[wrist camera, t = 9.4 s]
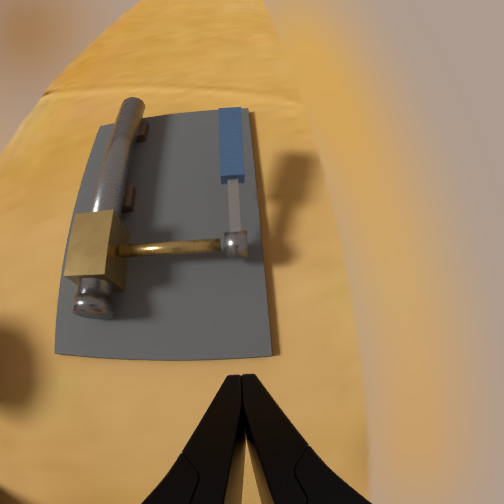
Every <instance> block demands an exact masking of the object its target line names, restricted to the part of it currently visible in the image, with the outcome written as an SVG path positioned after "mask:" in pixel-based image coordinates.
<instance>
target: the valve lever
mask: <svg viewBox="0 0 504 504" xmlns="http://www.w3.org/2000/svg"><path fill="white" fill-rule="evenodd" d="M218 112H219V153H220V177H221V183H222V184H228V204H229V224H230V231H226V232H224V242H225V256H226V259H236V258H248V241H247V230H244V231H241V221H240V203H239V185H238V184H239V183H244V182H245V168H244V152H243V135H242V118H241V107H233V108H218Z"/></svg>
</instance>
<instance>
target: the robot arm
mask: <svg viewBox="0 0 504 504" xmlns="http://www.w3.org/2000/svg"><path fill="white" fill-rule="evenodd" d="M245 430H246V431H245ZM246 439H247V444H248V449H249V453H250V458H251V462H252V466H253V470H254V474H255V478H256V483H257V487H258V491H259V495H260V499H261V502H262V504H372V503H370V502H369V501H368V500H366V499H365V498H364V497H363V496H361V495H360V494H359V493H358V492H356V491H355V490H354V489H353V488H352V487H350V486H349V485H348V484H347V483H346V482H344V481H343V480H342V479H341V478H340V477H339V476H338V475H336V474H335V473H334V472H333V471H332V470H331V469H330V468H329V467H328V466H327V465H326V464H325V463H324V462H323V461H322V460H321V458H320V457H319V456H318V455H317V454H316V453H315V451H314V450H313V449H312V448H311V447H310V446H308V443H307V442H306V441H305V439H304V438H303V437H302V435H301V434H300V433H299V432H298V430H297V429H296V428H295V427H294V425H293V424H292V423H291V421H290V420H289V419H288V418H287V416H286V415H285V414H284V412H283V411H282V410H281V408H280V407H279V406H278V404H277V403H276V402H275V400H274V399H273V398H272V396H271V395H270V394H269V392H268V391H267V390H266V388H265V387H264V386H263V384H262V383H261V381H260V380H259V379H258V377H257V376H256V375H255V374H243V375H242V376H241V375H228V376H227V377H226V379H225V380H224V382H223V384H222V386H221V387H220V389H219V391H218V392H217V394H216V396H215V398H214V399H213V401H212V403H211V404H210V406H209V408H208V409H207V411H206V413H205V414H204V416H203V418H202V419H201V421H200V423H199V424H198V426H197V428H196V429H195V431H194V433H193V434H192V436H191V438H190V439H189V441H188V442H187V444H186V446H185V447H184V449H183V451H182V453H181V454H180V455H179V457H178V458H177V460H176V462H175V463H174V465H173V466H172V467H171V469H170V470H169V472H168V473H167V475H166V476H165V477H164V478H163V480H162V481H161V482H160V483H159V484H158V486H157V487H156V488H155V489H154V490H153V491H152V492H151V494H150V495H149V496H148V497H147V498H146V499H145V500H144V501H143V502H142V503H141V504H241V502H242V489H243V475H244V462H245V448H246Z"/></svg>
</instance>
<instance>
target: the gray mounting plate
mask: <svg viewBox="0 0 504 504" xmlns="http://www.w3.org/2000/svg"><path fill="white" fill-rule="evenodd" d="M241 118H242V135H243V152H244V168H245V182H244V183H239V184H238V185H239V203H240V221H241V231H244V230H247V241H248V258H236V259H226V256H225V242H224V232H226V231H230V224H229V204H228V184H222V183H221V177H220V153H219V112H218V110H209V111H198V112H187V113H178V114H170V115H162V116H155V117H148V118H142V120H141V121H148V124H149V130H148V135H147V139H146V141H145V142H139V143H135V147H134V152H133V156H132V160H131V165H130V170H129V174H128V179H127V184H126V185H131V184H134V186H135V188H136V190H137V191H136V197H135V204H134V211H133V212H128V213H121V218H120V219H121V221H122V222H123V224H124V225H125V227H126V228H127V229H128V231H129V232H130V242H129V244H140V243H154V242H168V241H184V240H199V239H215V238H220V241H221V252H211V253H194V254H177V255H160V256H144V257H128V261H127V272H126V285H125V291H123V292H112V298H111V299H112V300H113V301H114V306H113V318H111V319H90V318H85V317H81V316H78V315H76V314H74V313H73V301H74V295H75V294H77V287H78V285H76V284H75V283H73V282H72V281H70V280H69V279H68V278H66V277H65V276H64V270H65V264H66V258H67V252H68V246H69V241H70V236H71V231H72V226H73V222H74V217H75V214H79V213H87V212H90V209H91V205H92V200H93V196H94V192H95V188H96V184H97V180H98V176H99V173H100V169H101V165H102V162H103V159H104V155H105V152H106V149H107V145H108V142H109V139H110V136H111V133H112V130H113V127H114V124H115V123H114V124H109V125H104V126H100V128H99V131H98V133H97V136H96V139H95V142H94V144H93V147H92V150H91V153H90V156H89V159H88V162H87V165H86V169H85V172H84V175H83V178H82V182H81V185H80V189H79V193H78V196H77V200H76V204H75V208H74V212H73V216H72V221H71V225H70V230H69V234H68V239H67V244H66V250H65V255H64V261H63V267H62V274H61V281H60V288H59V297H58V306H57V317H56V331H55V353H56V354H62V355H72V356H82V357H95V358H109V359H129V360H219V359H239V358H255V357H268V356H272V350H271V338H270V326H269V315H268V304H267V293H266V282H265V271H264V260H263V250H262V239H261V229H260V219H259V208H258V198H257V188H256V178H255V168H254V159H253V149H252V139H251V130H250V120H249V111H248V108H244V109H241Z"/></svg>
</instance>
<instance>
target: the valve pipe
mask: <svg viewBox="0 0 504 504" xmlns="http://www.w3.org/2000/svg"><path fill="white" fill-rule="evenodd" d="M144 110H145V104H144V102H143V101H142V100H140V99H139V98H135V97H131V98H127V99H125V100H124V101H123V103H122V105H121V108H120V110H119V113H118V116H117V119H116V121H115V124H114V127H113V130H112V133H111V136H110V139H109V142H108V145H107V149H106V152H105V155H104V159H103V162H102V165H101V169H100V173H99V176H98V180H97V184H96V188H95V192H94V196H93V200H92V205H91V209H90V212H87V213H79V214H75V217H74V222H73V226H72V231H71V236H70V241H69V246H68V252H67V258H66V264H65V270H64V276H65V277H66V278H68V279H69V280H70V281H72V282H73V283H75V284H76V285H78V287H77V294H75V295H74V301H73V313H74V314H76V315H78V316H81V317H85V318H90V319H111V318H113V306H114V301H113V300H112V299H111V298H112V292H123V291H125V285H126V272H127V261H128V257H144V256H160V255H177V254H194V253H211V252H221V241H220V238H215V239H199V240H184V241H168V242H154V243H140V244H129V242H130V232H129V231H128V229H127V228H126V227H125V225H124V224H123V222H122V221H121V219H120V218H121V213H128V212H133V211H134V204H135V197H136V191H137V190H136V188H135V186H134V184H131V185H126V184H127V179H128V174H129V170H130V165H131V160H132V156H133V152H134V147H135V143H139V142H145V141H146V139H147V135H148V130H149V124H148V121H141V120H142V117H143V113H144Z"/></svg>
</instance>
